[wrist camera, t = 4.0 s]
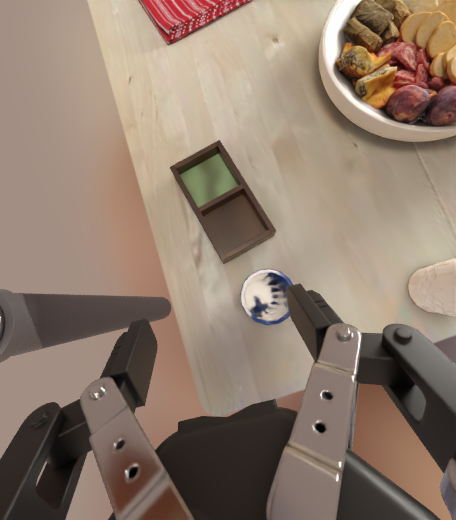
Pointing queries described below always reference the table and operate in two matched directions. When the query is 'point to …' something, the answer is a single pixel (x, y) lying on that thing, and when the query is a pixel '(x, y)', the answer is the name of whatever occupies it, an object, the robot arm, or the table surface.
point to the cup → (266, 296)
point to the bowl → (392, 66)
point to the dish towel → (186, 14)
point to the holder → (222, 201)
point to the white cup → (435, 288)
